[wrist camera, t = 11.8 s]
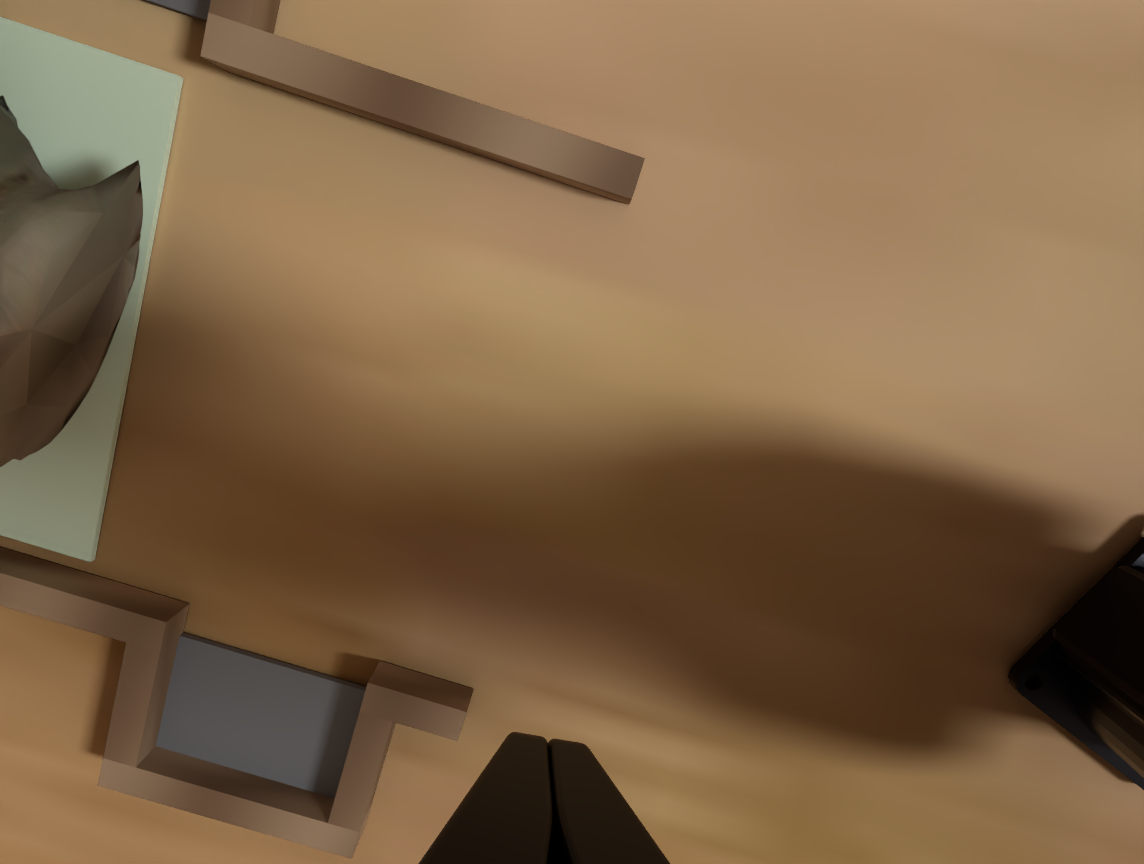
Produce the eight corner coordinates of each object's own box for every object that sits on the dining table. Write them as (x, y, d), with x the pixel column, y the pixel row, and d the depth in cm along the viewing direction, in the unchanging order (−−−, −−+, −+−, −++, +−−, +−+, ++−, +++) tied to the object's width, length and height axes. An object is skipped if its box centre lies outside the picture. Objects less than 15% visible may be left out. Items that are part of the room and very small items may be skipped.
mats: (253, -245, 17) (249, -252, 16) (387, 793, 22) (385, 798, 22) (-34, -219, 17) (-42, -226, 17) (171, 800, 23) (167, 805, 22)
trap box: (706, -37, 17) (714, -61, 16) (423, 846, 23) (413, 876, 22) (-178, -345, 16) (-237, -393, 15) (-251, 651, 22) (-298, 671, 21)
